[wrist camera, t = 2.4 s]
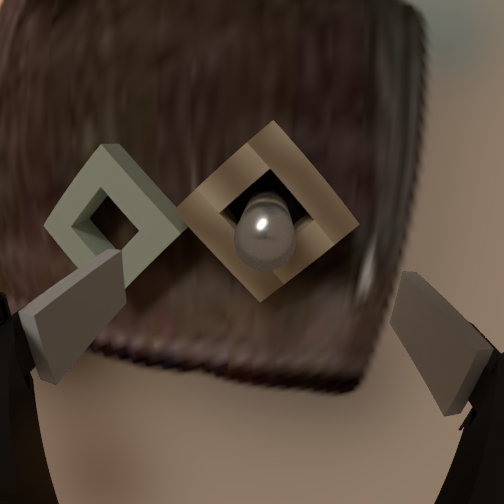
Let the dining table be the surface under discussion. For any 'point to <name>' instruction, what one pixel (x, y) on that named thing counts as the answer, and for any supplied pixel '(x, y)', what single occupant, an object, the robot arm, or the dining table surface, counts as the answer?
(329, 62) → the dining table surface
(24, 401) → the robot arm
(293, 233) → the lock pin
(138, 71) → the dining table surface
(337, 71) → the dining table surface
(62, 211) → the socket block
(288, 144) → the block
